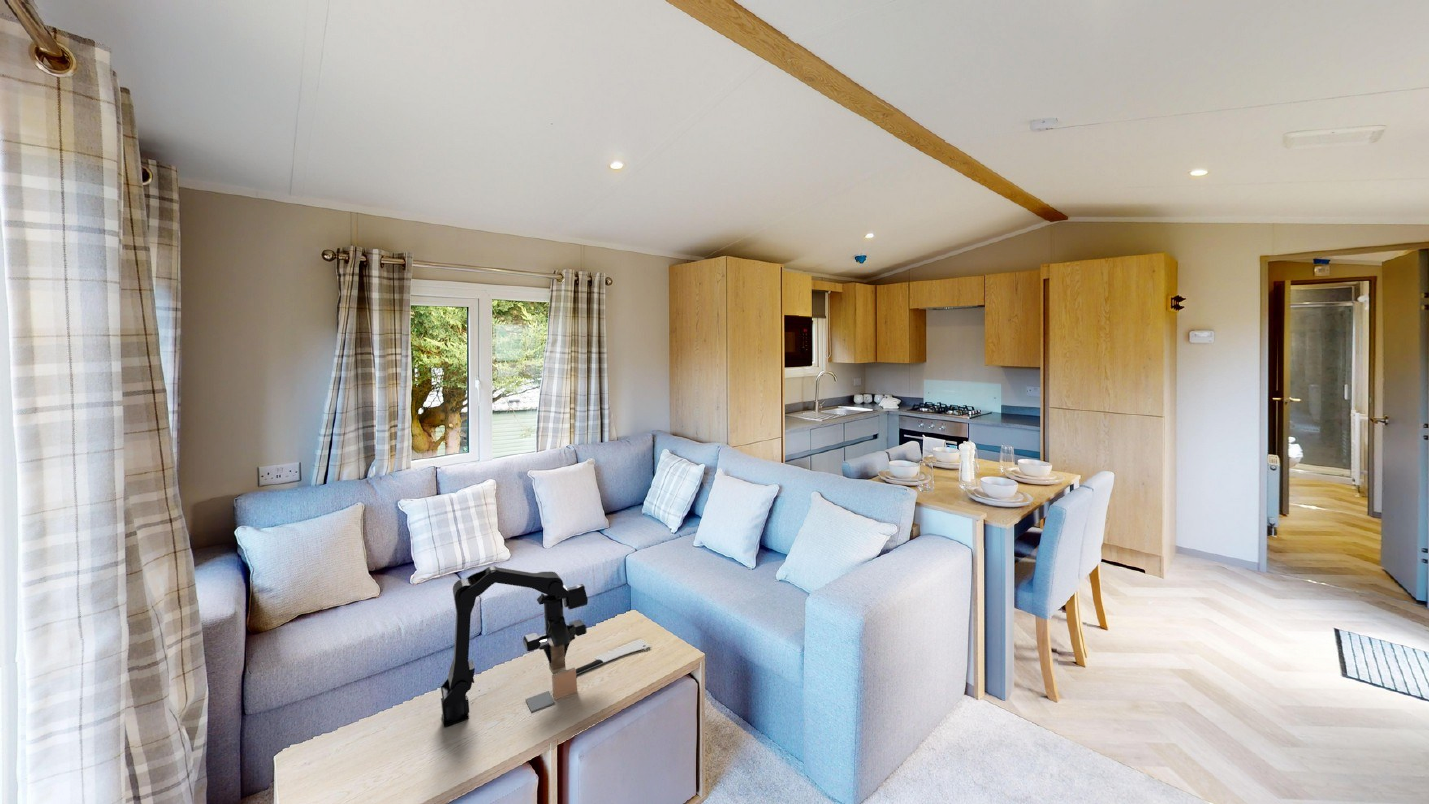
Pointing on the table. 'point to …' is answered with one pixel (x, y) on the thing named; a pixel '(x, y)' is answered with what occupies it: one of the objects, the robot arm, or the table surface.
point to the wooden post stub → (557, 658)
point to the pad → (540, 701)
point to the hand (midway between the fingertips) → (556, 660)
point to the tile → (564, 683)
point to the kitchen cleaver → (613, 655)
